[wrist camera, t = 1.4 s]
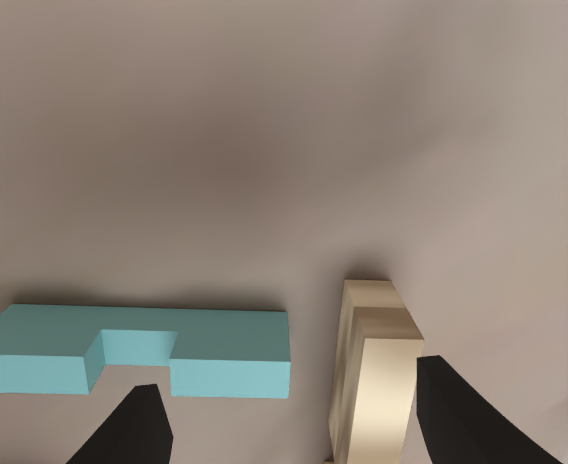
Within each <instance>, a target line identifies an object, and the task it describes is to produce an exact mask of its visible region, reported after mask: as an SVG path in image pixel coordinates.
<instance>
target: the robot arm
mask: <svg viewBox="0 0 568 464" xmlns="http://www.w3.org/2000/svg"><path fill="white" fill-rule="evenodd" d="M417 417H418V420H419V424H420V427H421V431H422V434H423V437H424V441H425V444H426V447H427V450H428V453H429V456H430V458H431V461H432V463H433V464H562V463H561V462H560V461H558V460H557V459H556V458H554V457H553V456H552V455H550V454H549V453H548V452H546V451H545V450H544V449H543V448H541V447H540V446H539V445H538V444H536V443H535V442H534V441H533V440H531V439H530V438H529V437H528V436H527V435H525V434H524V433H523V432H522V431H520V430H519V429H518V428H517V427H516V426H515V425H513V424H512V423H511V422H510V421H509V420H508V419H506V418H505V417H504V416H503V415H502V414H501V413H500V412H499V411H497V410H496V409H495V408H494V407H493V406H492V405H491V404H490V403H489V402H487V401H486V400H485V399H484V398H483V397H482V396H481V395H480V394H479V393H478V392H477V391H476V390H475V389H474V388H473V387H472V386H470V385H469V384H468V383H467V382H466V381H465V380H464V379H463V378H462V377H461V376H460V375H459V374H458V373H457V372H456V371H455V370H454V369H453V368H452V367H451V366H450V365H449V364H448V363H447V362H446V361H445V360H444V359H443V358H442V357H441V356H440V355H437V356H427V357H417ZM172 443H173V434H172V431H171V428H170V425H169V421H168V418H167V415H166V412H165V409H164V405H163V402H162V399H161V396H160V392H159V389H158V386H157V384H150V385H140V386H135V387H134V388H133V389H132V390H131V392H130V393H129V394H128V395H127V396H126V397H125V398H124V399H123V401H122V402H121V403H120V404H119V405H118V406H117V408H116V409H115V410H114V411H113V412H112V413H111V414H110V416H109V417H108V418H107V419H106V420H105V421H104V422H103V424H102V425H101V426H100V427H99V428H98V429H97V430H96V431H95V433H94V434H93V435H92V436H91V437H90V438H89V439H88V440H87V441H86V443H85V444H84V445H83V446H82V447H81V448H80V449H79V450H78V451H77V452H76V453H75V454H74V455H73V457H72V458H71V459H70V460H69V461H68V462H67V463H66V464H169V461H170V456H171V449H172Z"/></svg>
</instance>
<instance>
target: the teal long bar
mask: <svg viewBox="0 0 568 464" xmlns="http://www.w3.org/2000/svg"><path fill="white" fill-rule="evenodd" d="M290 363H291V360H290V345H289V329H288V314H287V312H271V311H237V310H203V309H170V308H136V307H102V306H68V305H34V304H11V305H10V306H9V307H8V308H7V309H6V310H4V311H3V312H2V313H1V314H0V392H3V393H52V394H89V393H90V391H91V389H92V388H93V386H94V384H95V382H96V381H97V379H98V377H99V375H100V373H101V372H102V370H103V368H104V366H105V365H106V364H108V365H150V366H170V382H171V396H197V397H246V398H288V392H289V378H290Z"/></svg>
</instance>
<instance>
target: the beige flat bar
mask: <svg viewBox="0 0 568 464" xmlns="http://www.w3.org/2000/svg"><path fill="white" fill-rule="evenodd" d="M423 345H424V338H423V336H422V334H421V333H420V331H419V329H418V327H417V326H416V324H415V322H414V320H413V319H412V317H411V315H410V313H409V311H408V310H407V308H406V306H405V304H404V303H403V301H402V299H401V297H400V296H399V294H398V292H397V290H396V289H395V287H394V285H393V283H392V281H378V280H348V279H345V280H344V288H343V297H342V306H341V314H340V323H339V332H338V340H337V349H336V357H335V366H334V375H333V383H332V392H331V401H330V409H329V418H328V424H329V431H330V437H331V443H332V449H333V455H334V462H323V464H399V462H400V457H401V452H402V448H403V443H404V438H405V433H406V428H407V423H408V418H409V413H410V409H411V404H412V399H413V394H414V389H415V384H416V379H417V357H421V355H422V350H423Z"/></svg>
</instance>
